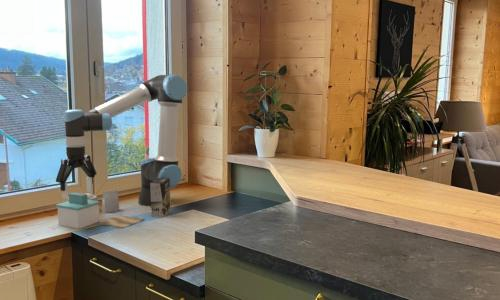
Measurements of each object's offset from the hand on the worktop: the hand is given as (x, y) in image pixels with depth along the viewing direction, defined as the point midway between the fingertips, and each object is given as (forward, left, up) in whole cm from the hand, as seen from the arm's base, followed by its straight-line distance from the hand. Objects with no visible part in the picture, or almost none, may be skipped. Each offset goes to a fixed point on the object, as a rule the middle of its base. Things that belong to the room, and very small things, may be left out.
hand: (77, 194), depth 205 cm
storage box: (0, 0, -13) cm, 13 cm away
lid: (0, 0, -5) cm, 5 cm away
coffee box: (-28, +23, -13) cm, 38 cm away
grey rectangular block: (-21, -2, -13) cm, 25 cm away
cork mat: (-10, +15, -13) cm, 22 cm away
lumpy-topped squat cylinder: (-14, -12, -13) cm, 23 cm away
